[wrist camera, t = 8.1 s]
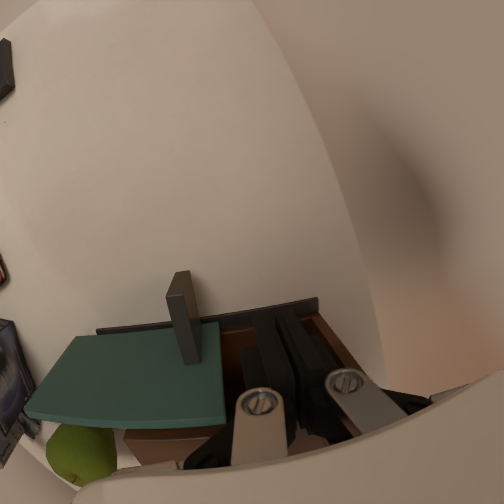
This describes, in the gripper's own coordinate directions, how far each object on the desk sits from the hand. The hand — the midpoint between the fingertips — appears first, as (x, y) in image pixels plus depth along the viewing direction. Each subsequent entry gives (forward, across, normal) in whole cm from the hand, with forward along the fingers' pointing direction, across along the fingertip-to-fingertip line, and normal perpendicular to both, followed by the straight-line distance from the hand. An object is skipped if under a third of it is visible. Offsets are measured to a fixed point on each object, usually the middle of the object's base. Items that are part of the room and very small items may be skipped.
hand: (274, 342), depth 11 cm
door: (+13, +11, +3) cm, 17 cm away
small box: (+14, +32, +8) cm, 35 cm away
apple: (+13, +22, +18) cm, 31 cm away
